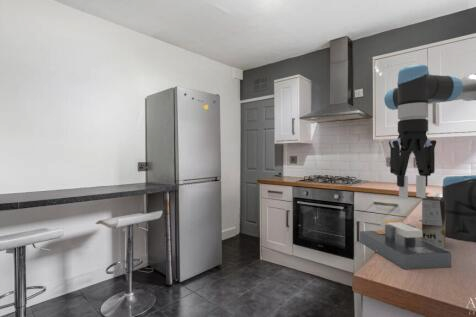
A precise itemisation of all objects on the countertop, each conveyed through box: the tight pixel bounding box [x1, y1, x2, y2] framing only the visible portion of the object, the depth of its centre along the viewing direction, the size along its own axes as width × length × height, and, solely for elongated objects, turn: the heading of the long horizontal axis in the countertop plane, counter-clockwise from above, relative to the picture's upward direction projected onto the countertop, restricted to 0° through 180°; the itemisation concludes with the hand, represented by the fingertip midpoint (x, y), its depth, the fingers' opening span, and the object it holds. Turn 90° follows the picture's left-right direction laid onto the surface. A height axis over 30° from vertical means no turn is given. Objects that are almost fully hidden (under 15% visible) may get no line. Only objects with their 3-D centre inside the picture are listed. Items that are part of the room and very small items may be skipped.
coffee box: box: [421, 195, 446, 249], centre depth 92 cm, size 9×6×16 cm
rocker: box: [380, 219, 422, 238], centre depth 83 cm, size 5×12×2 cm, turn 5°
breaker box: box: [359, 223, 452, 270], centre depth 83 cm, size 14×22×9 cm, turn 5°
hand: (412, 197), depth 78 cm, fingers open, 5 cm apart
